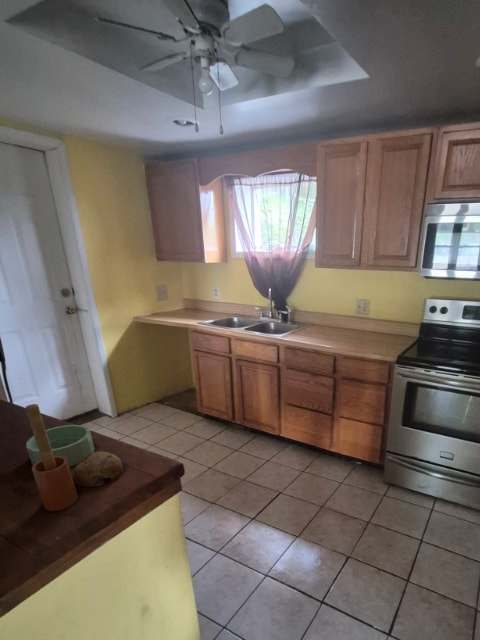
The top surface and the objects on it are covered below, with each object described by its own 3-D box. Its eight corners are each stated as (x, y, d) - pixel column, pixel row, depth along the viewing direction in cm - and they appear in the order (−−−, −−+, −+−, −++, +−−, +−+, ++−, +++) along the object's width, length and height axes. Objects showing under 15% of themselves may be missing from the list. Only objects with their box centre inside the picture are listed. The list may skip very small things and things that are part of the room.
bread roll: (85, 505, 83) (83, 484, 78) (66, 472, 87) (63, 451, 82) (129, 485, 90) (130, 465, 85) (109, 456, 94) (109, 435, 89)
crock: (38, 512, 76) (23, 471, 72) (60, 493, 81) (48, 454, 77) (64, 515, 75) (51, 474, 71) (84, 496, 80) (74, 457, 77)
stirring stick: (51, 503, 77) (20, 407, 69) (58, 497, 79) (29, 403, 70) (64, 505, 77) (34, 408, 68) (71, 499, 79) (43, 404, 70)
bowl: (19, 469, 90) (11, 448, 88) (61, 442, 102) (55, 423, 100) (69, 475, 88) (63, 453, 86) (105, 446, 100) (101, 426, 98)
